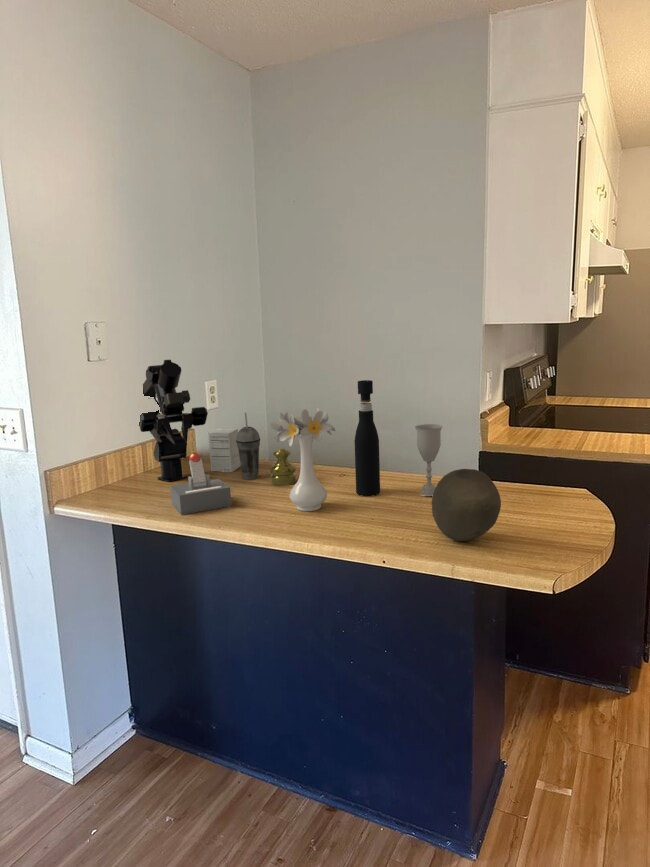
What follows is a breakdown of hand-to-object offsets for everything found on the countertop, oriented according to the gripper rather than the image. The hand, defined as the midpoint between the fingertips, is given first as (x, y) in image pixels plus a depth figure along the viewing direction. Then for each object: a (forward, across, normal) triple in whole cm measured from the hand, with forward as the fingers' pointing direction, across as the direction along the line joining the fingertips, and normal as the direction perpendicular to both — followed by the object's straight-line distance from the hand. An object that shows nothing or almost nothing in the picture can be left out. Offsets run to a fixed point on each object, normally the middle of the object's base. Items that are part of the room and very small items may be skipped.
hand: (180, 442), depth 176 cm
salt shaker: (+16, +27, +4) cm, 31 cm away
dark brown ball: (+62, +41, -42) cm, 85 cm away
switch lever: (+18, 0, -7) cm, 19 cm away
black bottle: (+32, +41, -13) cm, 54 cm away
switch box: (+22, 0, -3) cm, 22 cm away
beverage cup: (+9, +20, +11) cm, 25 cm away
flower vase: (+34, +22, -15) cm, 43 cm away
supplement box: (-2, +18, +21) cm, 28 cm away
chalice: (+40, +54, -20) cm, 70 cm away
